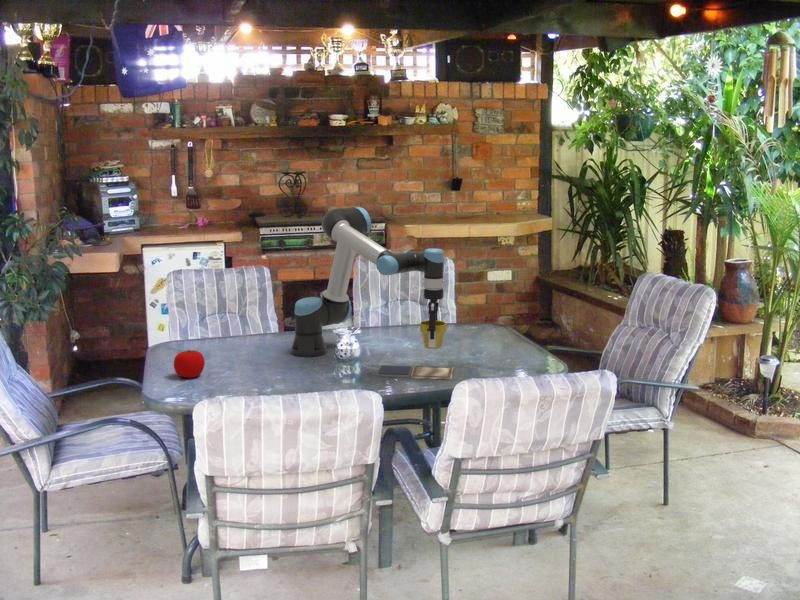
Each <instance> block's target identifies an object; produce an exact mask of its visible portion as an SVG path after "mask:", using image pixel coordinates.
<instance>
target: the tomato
mask: <svg viewBox="0 0 800 600" xmlns="http://www.w3.org/2000/svg"><path fill="white" fill-rule="evenodd" d="M205 362H206V361H205V357H204V354H202V353H201V351H198V350H185V351H180V352H178V353H177V354H176V355H175V357H174V360H173V369H174V372H175V374H176V375H178V376H179V377H182V378H189V379H190V378H196V377H199V376H200V375H201V374H202V372H203V371H204V368H205V366H206V365H205V364H206V363H205Z"/></svg>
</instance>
